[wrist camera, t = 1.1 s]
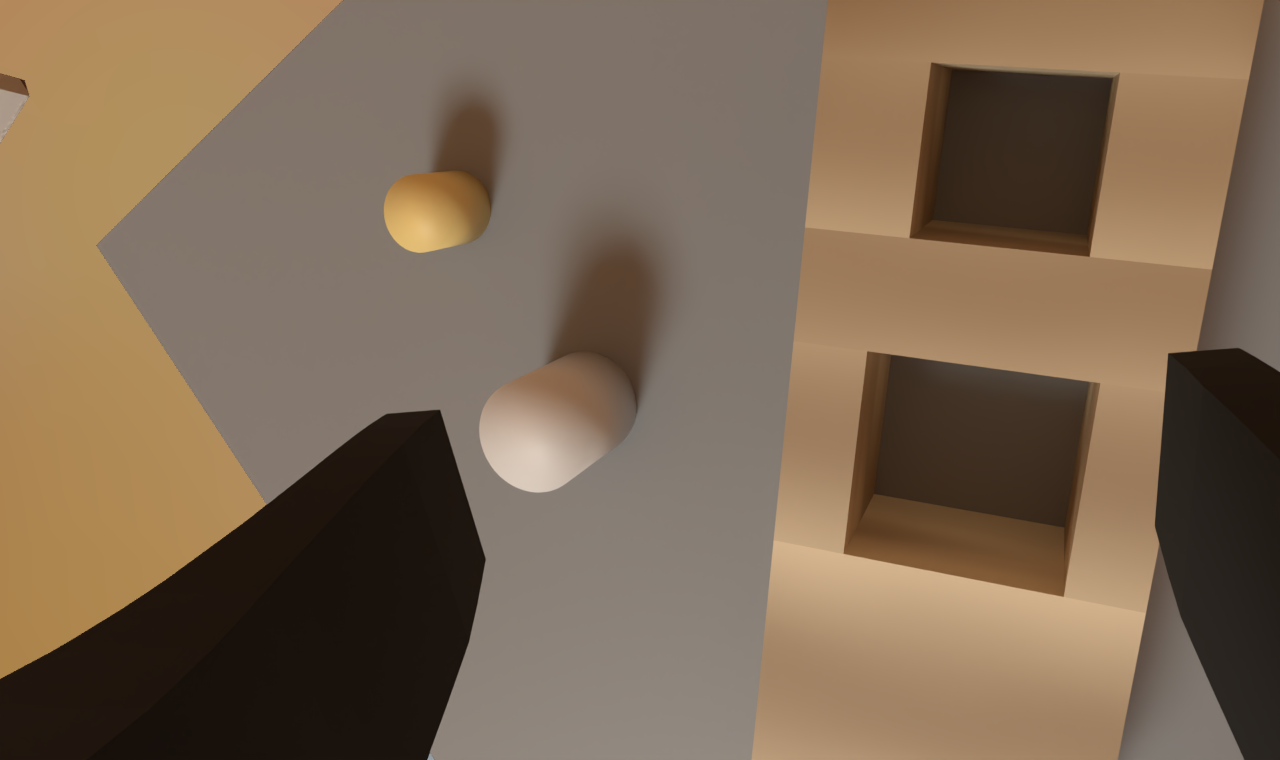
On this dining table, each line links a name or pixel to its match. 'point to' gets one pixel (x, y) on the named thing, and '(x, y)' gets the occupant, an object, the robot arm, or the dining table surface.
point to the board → (627, 329)
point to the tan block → (993, 338)
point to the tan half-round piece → (11, 101)
